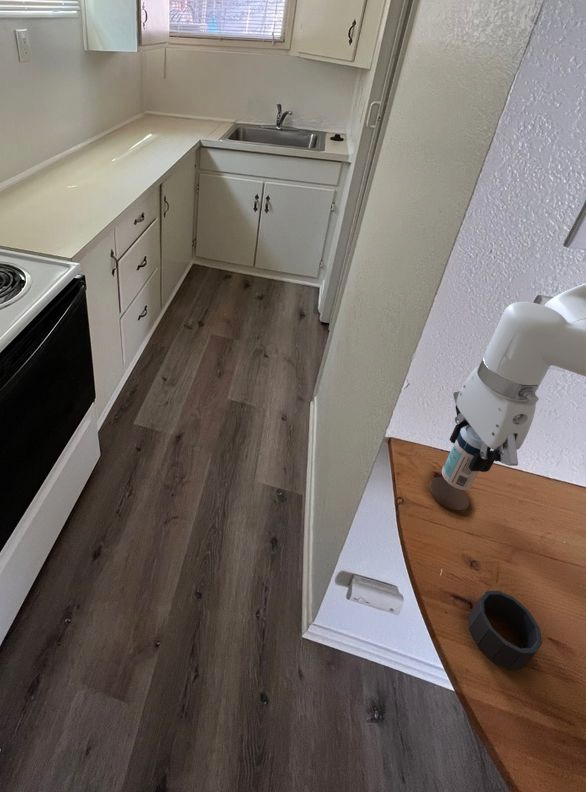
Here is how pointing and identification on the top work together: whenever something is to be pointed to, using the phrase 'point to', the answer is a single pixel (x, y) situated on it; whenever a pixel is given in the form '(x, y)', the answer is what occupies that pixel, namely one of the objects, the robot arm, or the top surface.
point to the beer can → (462, 459)
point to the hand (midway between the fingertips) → (468, 454)
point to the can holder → (515, 618)
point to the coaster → (448, 495)
